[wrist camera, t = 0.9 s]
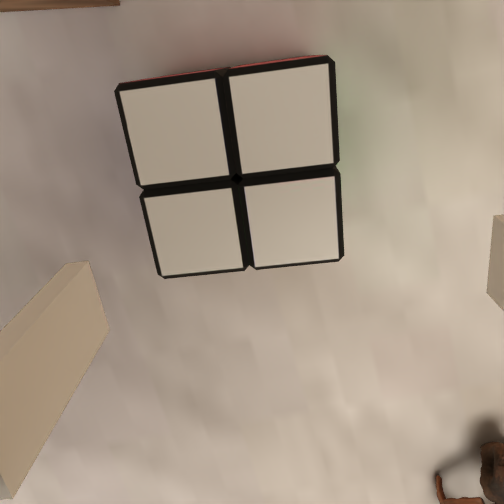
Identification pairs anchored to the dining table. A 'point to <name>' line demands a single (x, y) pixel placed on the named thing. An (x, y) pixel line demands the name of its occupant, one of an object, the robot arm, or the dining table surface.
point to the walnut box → (52, 4)
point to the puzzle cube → (237, 165)
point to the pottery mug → (483, 477)
